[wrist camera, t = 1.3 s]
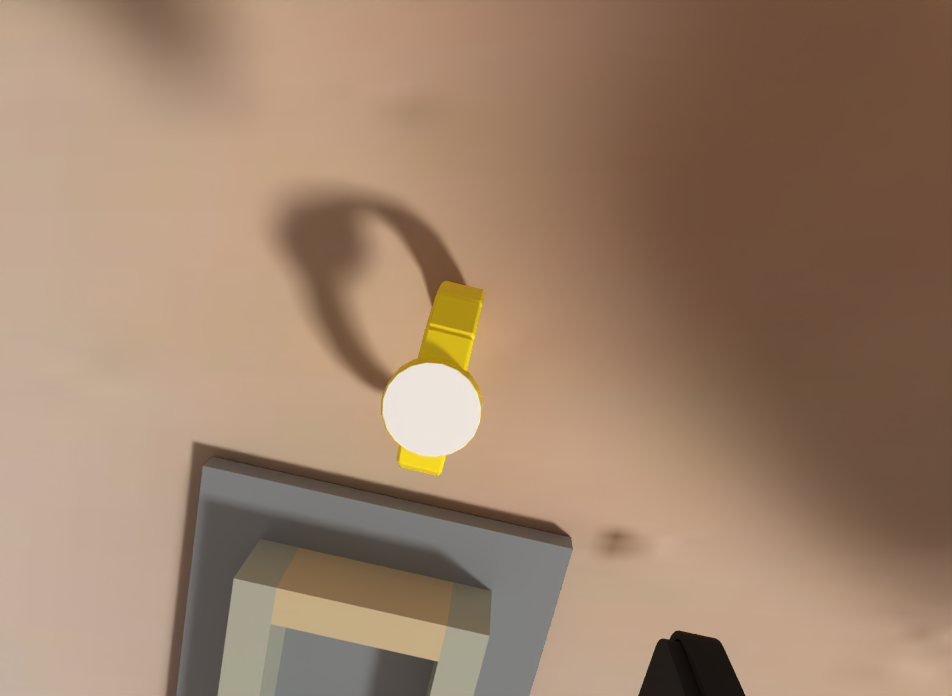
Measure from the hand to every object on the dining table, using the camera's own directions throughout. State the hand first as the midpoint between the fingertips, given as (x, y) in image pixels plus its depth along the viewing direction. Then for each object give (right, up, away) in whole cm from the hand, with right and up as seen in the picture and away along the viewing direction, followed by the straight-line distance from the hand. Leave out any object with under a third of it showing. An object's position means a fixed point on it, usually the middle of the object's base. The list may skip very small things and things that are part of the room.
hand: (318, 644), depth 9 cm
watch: (+1, +4, +15) cm, 15 cm away
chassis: (-3, -11, +19) cm, 22 cm away
